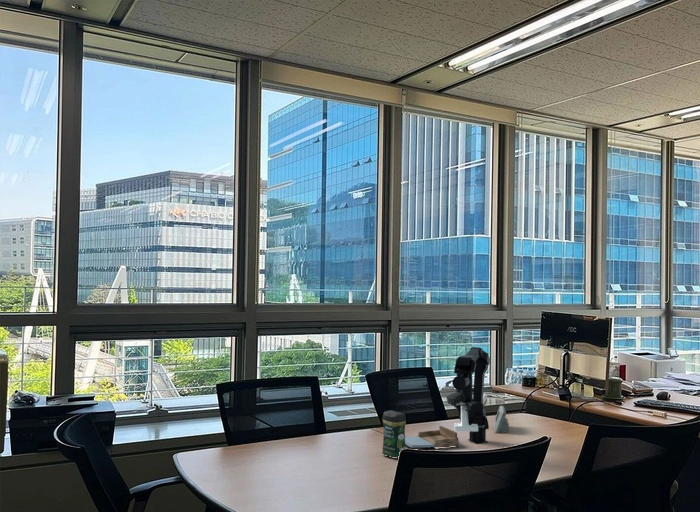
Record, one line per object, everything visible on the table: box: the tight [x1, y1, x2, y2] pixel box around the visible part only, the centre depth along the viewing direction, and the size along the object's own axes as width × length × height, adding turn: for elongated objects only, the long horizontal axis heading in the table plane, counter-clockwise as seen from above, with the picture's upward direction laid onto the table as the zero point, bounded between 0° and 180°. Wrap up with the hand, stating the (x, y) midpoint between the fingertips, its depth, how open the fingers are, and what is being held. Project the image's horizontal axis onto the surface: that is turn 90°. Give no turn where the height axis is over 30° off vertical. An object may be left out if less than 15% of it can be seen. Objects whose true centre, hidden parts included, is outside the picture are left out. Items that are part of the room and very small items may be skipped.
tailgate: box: [405, 436, 434, 449], centre depth 271 cm, size 1×15×11 cm
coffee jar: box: [381, 409, 407, 458], centre depth 256 cm, size 10×8×19 cm
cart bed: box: [417, 425, 459, 447], centre depth 276 cm, size 11×16×6 cm
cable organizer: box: [453, 406, 478, 432], centre depth 262 cm, size 5×10×10 cm, turn 85°
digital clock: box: [492, 405, 510, 434], centre depth 303 cm, size 16×9×11 cm, turn 157°
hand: (465, 423), depth 262 cm, fingers closed on cable organizer, 6 cm apart
